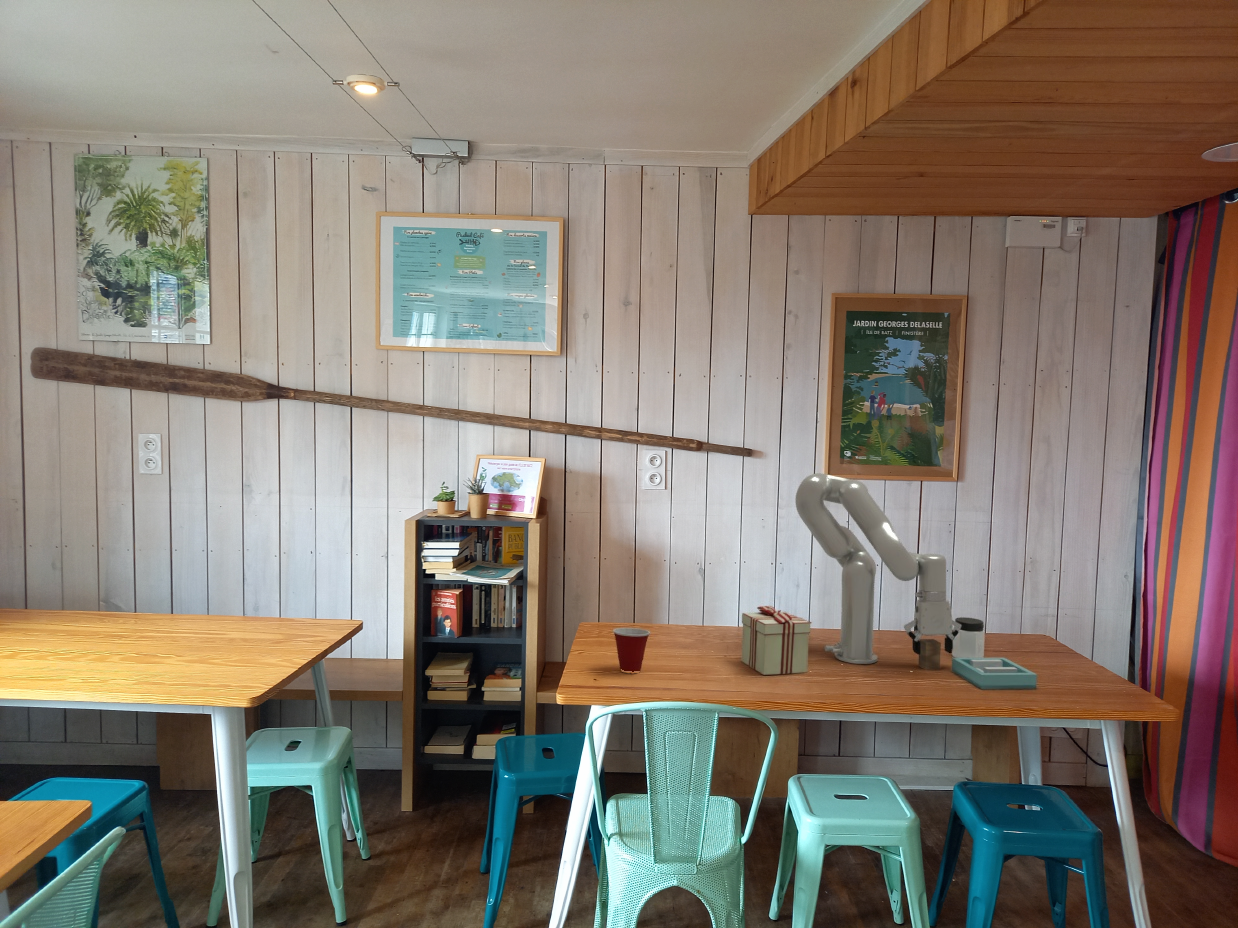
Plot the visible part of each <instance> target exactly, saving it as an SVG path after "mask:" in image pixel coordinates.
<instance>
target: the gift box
mask: <svg viewBox="0 0 1238 928" xmlns="http://www.w3.org/2000/svg"><path fill="white" fill-rule="evenodd" d="M756 609H758V612H742V613H741V614H742V615H741V624H742V639H741V658H740V659H741V662H742V663H743V664H744V665H747V666H748V667H749V668H752V669H753V670H754V671H756V672H759V673H760V674H761V675H763V676H768V675H769V676H770V675H783V674H784V675H786V674H801V673H808V663H809V662H808V661H809V660H808V658H809V640H810V639H809V635H810V633H811V624H812V621H809V620H807V619H804V618H803V617H799V616H796V615H794V614H791V613H789V612H787V611H782V610H776V608H775V607H774V606H772V605H763V606H757V607H756Z"/></svg>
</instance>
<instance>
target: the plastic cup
mask: <svg viewBox="0 0 1238 928" xmlns="http://www.w3.org/2000/svg"><path fill="white" fill-rule="evenodd" d="M612 632H613V634H614V638H615V643H616V650H617V658H618V664H619V669H622V670H624V671H632V672H634V671H640V672H641V670H642V666H643V665H642V664H643V660H644V655H645V651H646V645H647V642H648V639H649V636H650V634H651V631H649V630H647V629H643V628H638V627H637V628H636V627H617V628H613V629H612Z"/></svg>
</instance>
